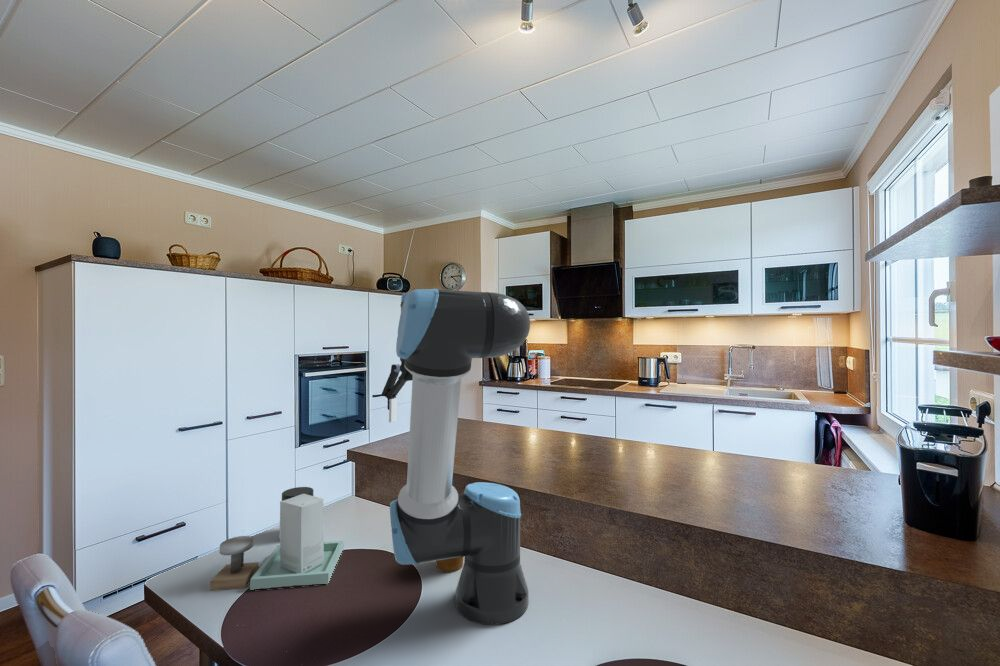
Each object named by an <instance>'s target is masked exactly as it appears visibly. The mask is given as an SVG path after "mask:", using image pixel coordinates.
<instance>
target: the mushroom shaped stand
mask: <svg viewBox="0 0 1000 666" xmlns="http://www.w3.org/2000/svg"><path fill="white" fill-rule="evenodd" d="M253 546H254V537H253V536H250V535H239V536H235V537H231V538H227V539H226V540H224V541H222V542H221V543H220V544H219V554H220V555H222V556H230V564H228V563H227V564H225V565H224V566H223V567H222V569H221V570H219V571H218V573H217V574H216V575H215V576H214V577H212V578H211V580H210V582H209V583H210V586H209V591H218V590H219V591H220V590H232V589H233V590H234V589H243V588H245V589H246V588H247V586H249V585H250V579H251V578H252V577H253V575H254V574H255V573H256V572H257V570H258V569H259V568H260V562H258V561H257V562H244V559H245V553H246V552H247V551H249V550H251V549H252V548H253Z"/></svg>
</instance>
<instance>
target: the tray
mask: <svg viewBox="0 0 1000 666" xmlns="http://www.w3.org/2000/svg"><path fill="white" fill-rule="evenodd" d="M342 551H343V552H344V540H338V541H337V540H335V541H324V563H323V564H322V565H320V566H318V567H316V568H314V569H312V570H310V571H308V572H306V573H294V572H292V571H290V570H287V569H285V568H282V567H280V544H279V545H276V547H275V548H274V549H273V550H272V552H271V553H270V554H269V555H268V556H267V558H266V559H265V560H264V561H263V563H262V564H261V566H259V569H258V570H257V572H256V573H255V574H254V575H253V577H252V578H251V579H250V582H249V591H250V590H254V589H260V588H271V587H282V586H293V585H310V584H311V585H312V584H326V585H329V584H328V583H330V582H329V581H331V579H332V577H331V576H333V575H332V573H333V574H334V572H335V570H336V568H335V566H336V564H337V565H338V563H339V561H340V559H339V557H340V555H341V556H342V554H343V552H342ZM341 553H342V554H341ZM340 558H341V557H340ZM338 560H339V561H338ZM337 562H338V563H337ZM336 567H337V566H336ZM334 569H335V570H334ZM333 571H334V572H333ZM330 578H331V579H330Z"/></svg>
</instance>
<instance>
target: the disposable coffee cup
mask: <svg viewBox="0 0 1000 666" xmlns="http://www.w3.org/2000/svg"><path fill="white" fill-rule="evenodd" d="M464 558H465V556H464V557H457V558H450V559H444V560H438V561H435V562H436V568H437V570H439V571H441V572H442V573H443V572H445V573H453V572H457V571H458V570H461V568H463V566H464Z"/></svg>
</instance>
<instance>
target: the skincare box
mask: <svg viewBox="0 0 1000 666" xmlns="http://www.w3.org/2000/svg"><path fill="white" fill-rule="evenodd" d="M279 508H280V509H279V531H280V539H279V542H280V544H279V545H280V567H282V568H285V569H287V570H290V571H292V572H294V573H306V572H308V571H310V570H312V569H314V568H316V567H318V566H320V565H322V564H323V563H324V542H325V541H324V535H325V534H324V529H325V528H324V498H322V497H319V496H315V495H314V496H311V495H307V494H301V495H298V496H295V497H292V498H290V499H287V500H283V501H282V500H281V501H279Z"/></svg>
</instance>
